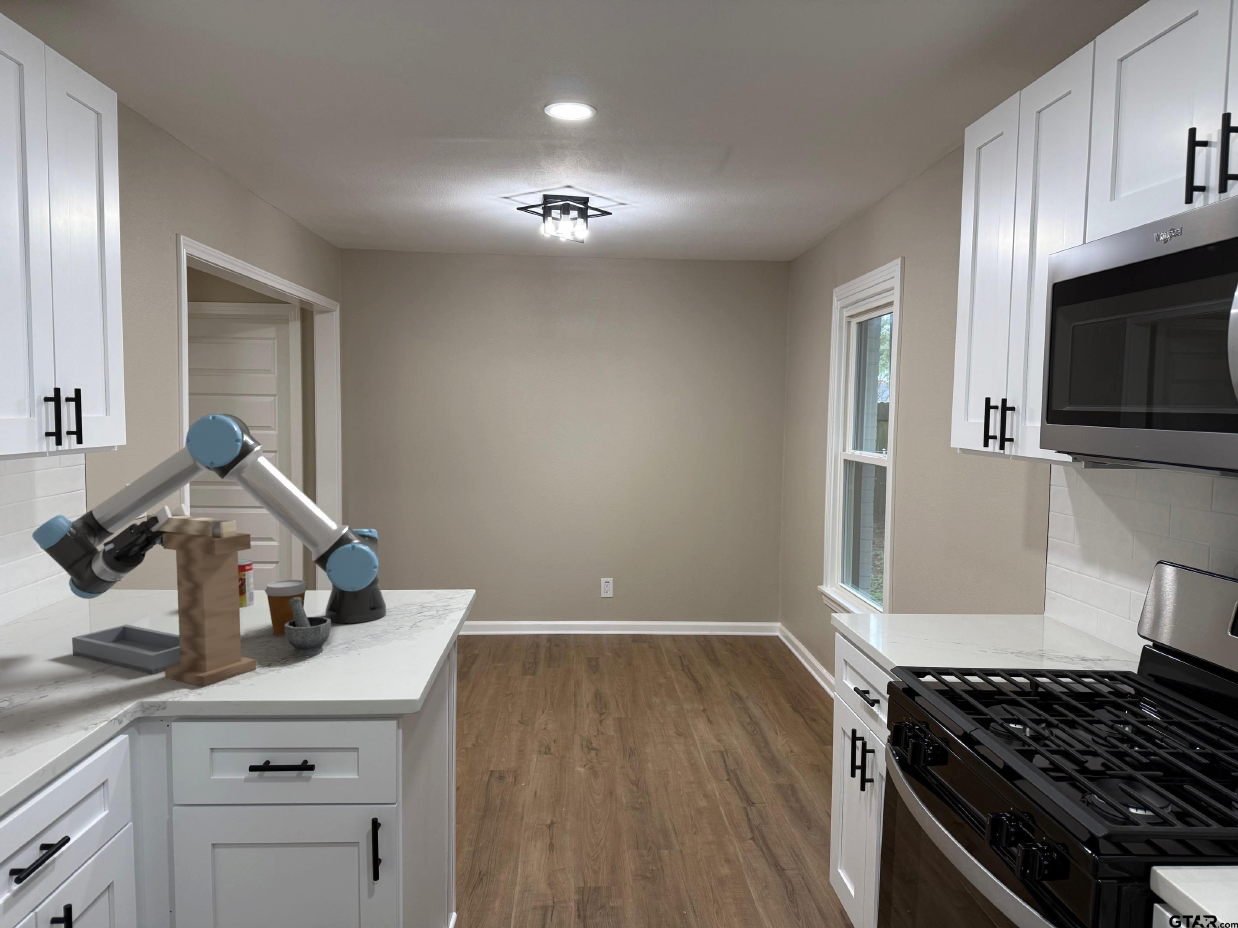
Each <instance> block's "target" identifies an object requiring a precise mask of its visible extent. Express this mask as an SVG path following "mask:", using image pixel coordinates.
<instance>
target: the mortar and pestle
mask: <svg viewBox="0 0 1238 928" xmlns="http://www.w3.org/2000/svg"><path fill="white" fill-rule="evenodd" d="M301 601H302V599H301V597H295V598H292V599H290V600H289V604H290V605H291V608H292V612H293V616H294V620H291V621H288V622H286V624H285V635H284V636H285V639H286V640H287V642H288V644H289V645H290V646H291V647H293V648H294V650H293V656H295V655H296V656H295V657H298V656H309V657H314V656H313V655H315V656H318V655H321V654H322V652H324V647H323V645H324V644H326V642H327V640H328V638H329V636H330V633H331V625H332V624H331V623H332V621H331V619H328V618H326V616H325V617H324V616H307V614H306V611H305V608H303V606H302V603H301ZM320 653H321V654H320Z"/></svg>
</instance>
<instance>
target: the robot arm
mask: <svg viewBox="0 0 1238 928" xmlns="http://www.w3.org/2000/svg"><path fill="white" fill-rule="evenodd" d="M263 447H264V446H263V445H262V443H260V442H259V441H258V440H257V439H256V438H255V437H254V436H253V435H252V434H251V432H250V428H249V427H248V424H246V422H244V421H243V420H242V419H241V418H239V417H237V416H235V415H233V414H228V413H211V414H206V415H204V416H202V417H200V418H199V419H197V420H196V421H194V423H192V424H191V426H189V428H188V431H187V433H186V436H185V444H184V447H182V448H181V449H179V450H178V451H177V452H175V453H174V454H172V455H170V457H167V458H166V459H165V460H163V461H162V462H160V463H159V464H157V465H156V466H154V467H153V468H152V469H150V470H148V471H147V472H145V473H144V474H142V475H140V476H139V477H138V478H137V479H135V480H134V481H132V482H131V483H129V484H127V485H126V486H125V487H123V488H121V489H120V490H119V491H117V492H116V493H114V494H113V495H111V496H110V497H108V498H107V499H105V500H103V502H101V503H99V504H98V505H97V506H95V507H93V508H92V509H91V510H89V511H87V512H86V513H84V514H83V515H81V516H80V517H78V518H77V519H75V520H72V521H71V520H70V519H68V518H66V516H64V515H62V514H59V515H55V516H54V517H52V518H50V519H48V520H47V521H46V522H44V523H42V524H41V525H40V526H38V528H36V529H35V530H34V531H33V533H32V535H31V536H32V539H33V540H34V541H35V542H36V544H37V545H38V546H39V547H40V549H41V550H43V551H44V552H46V554H48V556H50V557H51V559H53V560H54V561H55V562H56V563H57V564H58V565H59V566H60V567H61V568H62V569H63V570H64V571H65V572H66V573H67V574H68V575H69V580H68V585H69V588H70V591H71V592H72V593H73V595H75V596H77V597H79V598H82V599H84V600H90V599H95V598H97V597H99V596H101V595H103V594H105V593H106V592H107V591H109V590H110V589H111V588H112V587H113V586H115V585H116V584H117V583H118V582H121V581H122V579H123V578H124V577H126V575H129V573H130V572H131V571H133V570H135V568H137V567H139V566H140V565H141V564H142V563H143V562H144V560H145V557H146V554H147V552H149V551H150V550H152V549H153V548H154V546H158V545H159V546H161V547H163V534H166V533H173V532H168V531H159V530H157V529H159V528H160V527H161V526H162V525H163V524H165V523H166V522H167V521H168V520H170V519H171V518H172V515H181V516H190V513H189V511H188V509H187V507H186V504H185V503H181V504H179V505H178V506H177V507H176V508H175V509H173V510H172V511H170V508H169V506H168V505H164V506H163V507H161V508H160V509H159V510H157V511H156V512H155V513H153V514H154V515H153V516H152V517H150V518H149V519H148V520H147V519H146V520H143V521H141V522H140V523H139V524H138V523H137V522H136V523H132V522H133V521H134V520H136V519H137V518H140V517H141V516H142V515H144V514H145V513H147V512H148V511H149V510H151V509H152V508H154V507H156V506H157V505H158V504H160V503H162V502H163V501H164V500H166V499H167V498H168V497H170V496H172V495H173V494H175V493H176V492H177V491H179V490H181V488H182V489H183V488H184V486H186V485H188V484H190V483H191V482H192V481H194V480H196V479H197V478H198V477H200V476H201V475H203V474H204V473H205V472H210V473H211V472H212V473H214V474H216V475H217V476H218V477H220V479H221V480H223V481H224V482H225V481H227V482H228V481H233V482H235V483H236V484H237V485H238V486H239V487H241V489H243V490H244V492H246V493H247V494H248V495H250V497H252V498H253V500H254V501H256V502H257V503H258V504H259V505H260V506H262V507H263V508H264V510H266V512H268V513H269V514H270V515H272V516H273V517H274V518H275V519H276V520H277V521H278V522H279V523H280V524H281V525H283V526H284V527H285V528H286V529H287V530H288V531H289V532H290V533H291V534H292V535H293V536H295V538H296V539H298V540H299V541H300V542H301V543H302V544H304V545H305V547H306V548H308V549H309V550H310V551H311V560H312V562H313V563H315V565H316V566H318V567H319V568H320V569H321V570H322V571H323V572H324V573H325V574H326V576H327V578H328V580H329V581H330V583H331V590H330V594H329V597H328V600H327V603H326V604H327V605H326V607H325V618H328V619H331V623H338V624H339V623H340V624H354V623H355V624H356V623H365V622H371V621H374V620H377V619H381V618H383V617H384V616H386V615H387V605H386V602H385V599H384V596H383V593H382V591H381V588H380V579H379V569H380V566H379V565H380V561H379V537H378V531H377V530H376V529H374V528H356V529H355V528H352V527H350V526H349V525H348V524H347V525H340V524H338V523H337V522H336V521H334V520H333V519H332V518H331V517H330V516H329V515H328V514H327V513H326V512H324V511H323V509H322V508H320V507H319V506H318V505H317V504H316V503H315V502H314V501H313V500H312V499H310V498H309V497H308V496H307V494H305V492H303V491H302V490H301V489H300V488H299V487H298V486H297V485H296V484H294V482H293V481H291V480H290V479H289V478H288V477H287V476H286V475H285V474H284V473H283V472H282V471H281V470H279V469H278V468H277V467H276V466H275V465H274V464H273V463H272V462H271V461H270V460H269V459H267V457H265V456H264V452H263ZM131 523H132V524H131ZM128 525H129V526H128ZM126 526H128V527H126ZM124 527H125V529H123V528H124ZM122 529H123V530H122ZM150 529H151V530H150ZM120 530H122V531H121V532H120V533H118V534H117V535H116V536H114V537H113V538H112V539H110V540H108V541H106V540H107V539H108V538H110V537H111V536H113V535H114V534H115V533H117V532H119V531H120ZM105 541H106V542H105ZM102 544H103V548H102V549H100V550H99V549H98V548H97V547H98V546H100V545H102Z"/></svg>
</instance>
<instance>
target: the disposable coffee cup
mask: <svg viewBox="0 0 1238 928" xmlns="http://www.w3.org/2000/svg"><path fill="white" fill-rule="evenodd" d="M306 584H307V583H306V582H305V580H302V579H300V580H299V579H284V580H283V579H282V580H276V581H271V582H269V583H267V584H266V588H265V589H264V592H265V594H266V596H267V602H268V608H269V615H270V621H271V625H272V631H273V634H274V635H276V636H286V635H285V624H286V622H288V621H291V620H294V616H293V612H292V608H291V605H290V604H289V600H290V599H292V598H295V597H301V599H302V601H301V603H302V606H303V608H304V607H305V599H306V598H305V597H306V592H307V589H308V585H306ZM304 609H305V608H304Z"/></svg>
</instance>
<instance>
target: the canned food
mask: <svg viewBox="0 0 1238 928" xmlns="http://www.w3.org/2000/svg"><path fill="white" fill-rule="evenodd" d="M253 568H254V567H253V560H252V559H247V558H246V559H244V558H242V559H240V558H238V579H239V609H240V608H246V607H250V606H252V605H254V604H255V599H254V598H255V597H254V595H255V594H254V569H253Z"/></svg>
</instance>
